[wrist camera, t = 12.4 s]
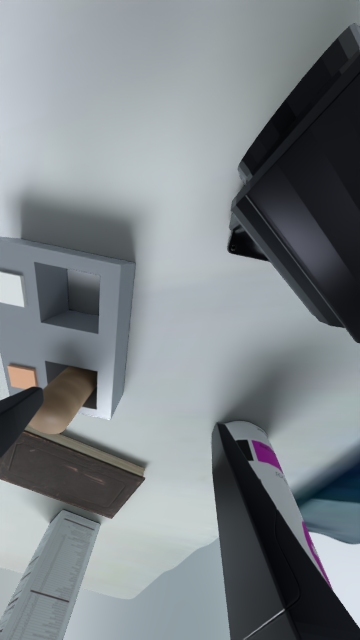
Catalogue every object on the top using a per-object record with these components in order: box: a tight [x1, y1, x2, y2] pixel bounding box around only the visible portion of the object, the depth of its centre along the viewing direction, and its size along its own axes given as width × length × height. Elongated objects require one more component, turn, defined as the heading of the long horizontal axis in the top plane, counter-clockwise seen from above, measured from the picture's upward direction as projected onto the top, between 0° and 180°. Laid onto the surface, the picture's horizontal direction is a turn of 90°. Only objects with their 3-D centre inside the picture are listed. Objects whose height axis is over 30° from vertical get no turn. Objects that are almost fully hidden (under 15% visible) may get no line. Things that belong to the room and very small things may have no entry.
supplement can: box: [211, 421, 332, 589], centre depth 19 cm, size 8×8×15 cm
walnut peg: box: [29, 366, 98, 434], centre depth 19 cm, size 4×4×8 cm
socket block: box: [0, 237, 136, 420], centre depth 19 cm, size 12×18×4 cm, turn 169°
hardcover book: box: [0, 424, 145, 519], centre depth 31 cm, size 16×23×2 cm
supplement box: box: [0, 510, 100, 640], centre depth 31 cm, size 10×9×17 cm
